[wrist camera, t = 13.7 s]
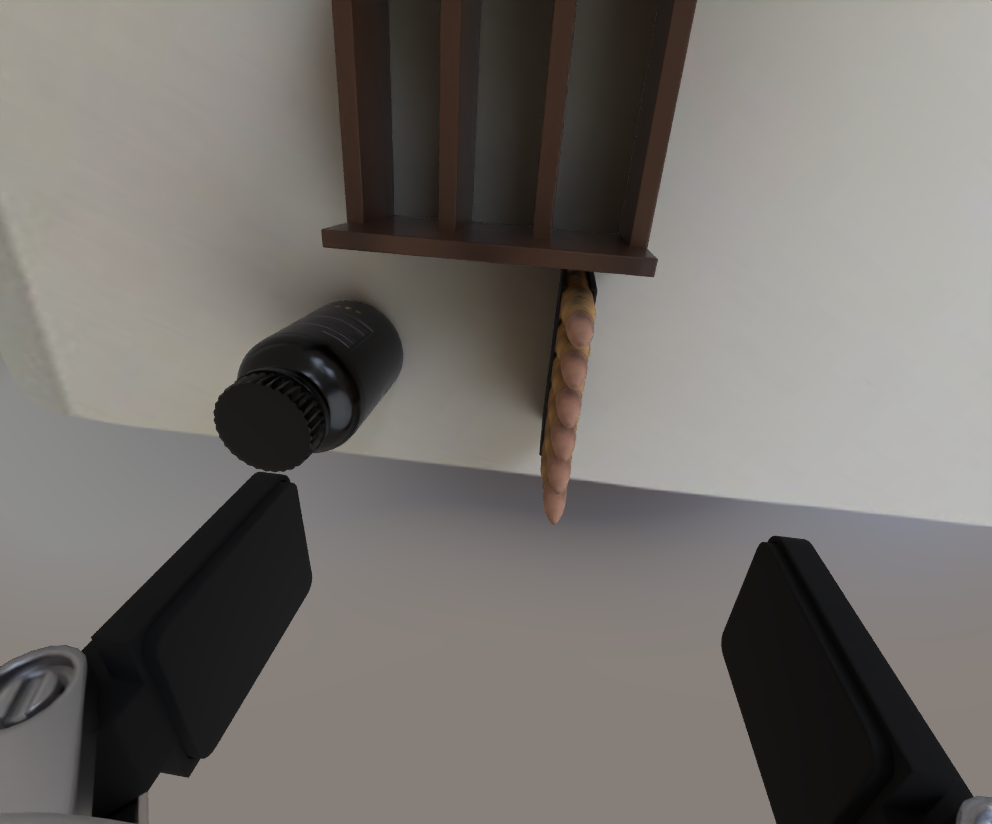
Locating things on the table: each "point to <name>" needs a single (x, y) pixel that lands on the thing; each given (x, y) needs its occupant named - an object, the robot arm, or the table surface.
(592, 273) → the ammunition clip
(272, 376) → the supplement bottle
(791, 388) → the table surface
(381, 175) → the rack
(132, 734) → the robot arm
